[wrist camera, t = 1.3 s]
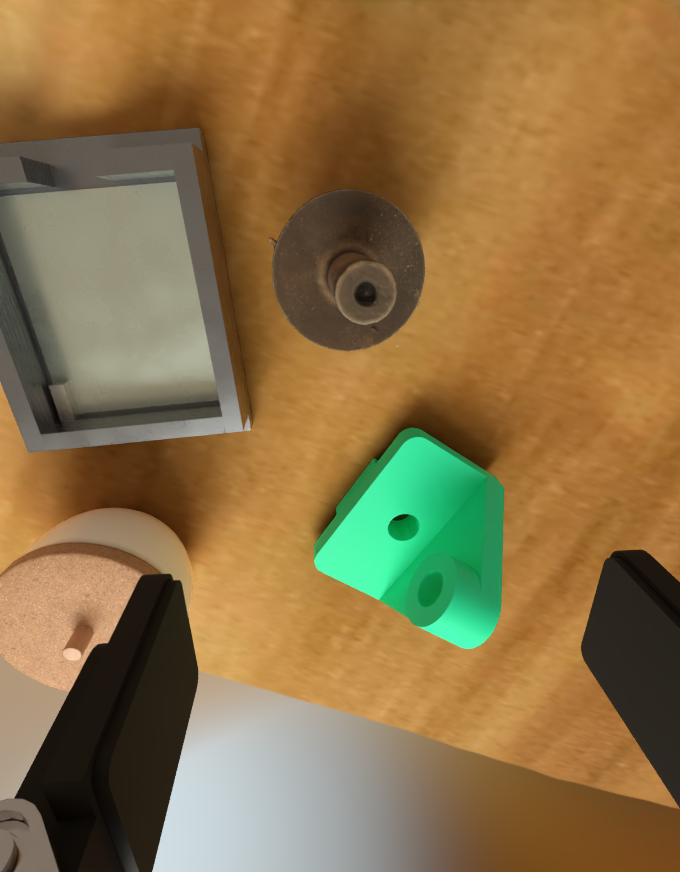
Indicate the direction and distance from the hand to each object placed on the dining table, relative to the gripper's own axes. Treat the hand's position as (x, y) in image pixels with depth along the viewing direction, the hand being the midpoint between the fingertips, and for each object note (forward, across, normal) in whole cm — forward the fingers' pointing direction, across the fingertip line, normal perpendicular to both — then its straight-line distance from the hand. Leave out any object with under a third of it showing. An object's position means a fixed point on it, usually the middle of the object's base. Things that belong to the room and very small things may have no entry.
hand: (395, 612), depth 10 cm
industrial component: (+21, -1, -5) cm, 21 cm away
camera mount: (+21, -4, +10) cm, 24 cm away
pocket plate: (+20, +12, -4) cm, 24 cm away
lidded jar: (+20, +15, +13) cm, 28 cm away
